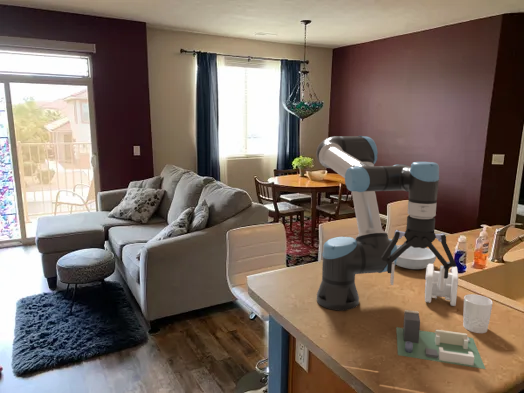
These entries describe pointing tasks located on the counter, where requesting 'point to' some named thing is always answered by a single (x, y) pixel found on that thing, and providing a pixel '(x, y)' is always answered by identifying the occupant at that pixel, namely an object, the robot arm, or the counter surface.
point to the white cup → (476, 313)
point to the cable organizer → (448, 285)
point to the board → (434, 348)
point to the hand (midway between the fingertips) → (415, 285)
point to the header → (453, 339)
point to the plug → (411, 326)
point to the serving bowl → (415, 258)
